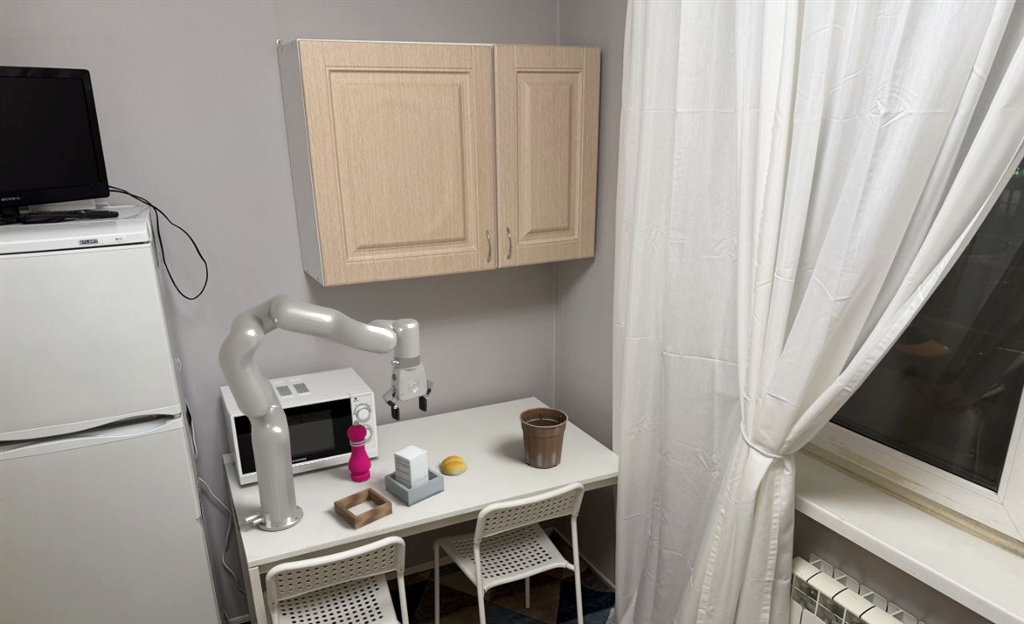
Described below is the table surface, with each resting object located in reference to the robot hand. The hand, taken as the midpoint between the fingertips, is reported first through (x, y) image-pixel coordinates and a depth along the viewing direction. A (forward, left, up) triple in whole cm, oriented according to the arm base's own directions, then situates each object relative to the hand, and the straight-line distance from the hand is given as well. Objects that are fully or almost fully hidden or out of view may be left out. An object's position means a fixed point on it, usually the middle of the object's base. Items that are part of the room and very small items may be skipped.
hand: (409, 414), depth 192 cm
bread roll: (+17, +2, -26) cm, 31 cm away
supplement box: (0, 0, -25) cm, 25 cm away
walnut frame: (-18, 0, -26) cm, 31 cm away
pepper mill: (-8, +19, -26) cm, 33 cm away
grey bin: (0, 0, -26) cm, 26 cm away
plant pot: (+43, -14, -26) cm, 52 cm away
